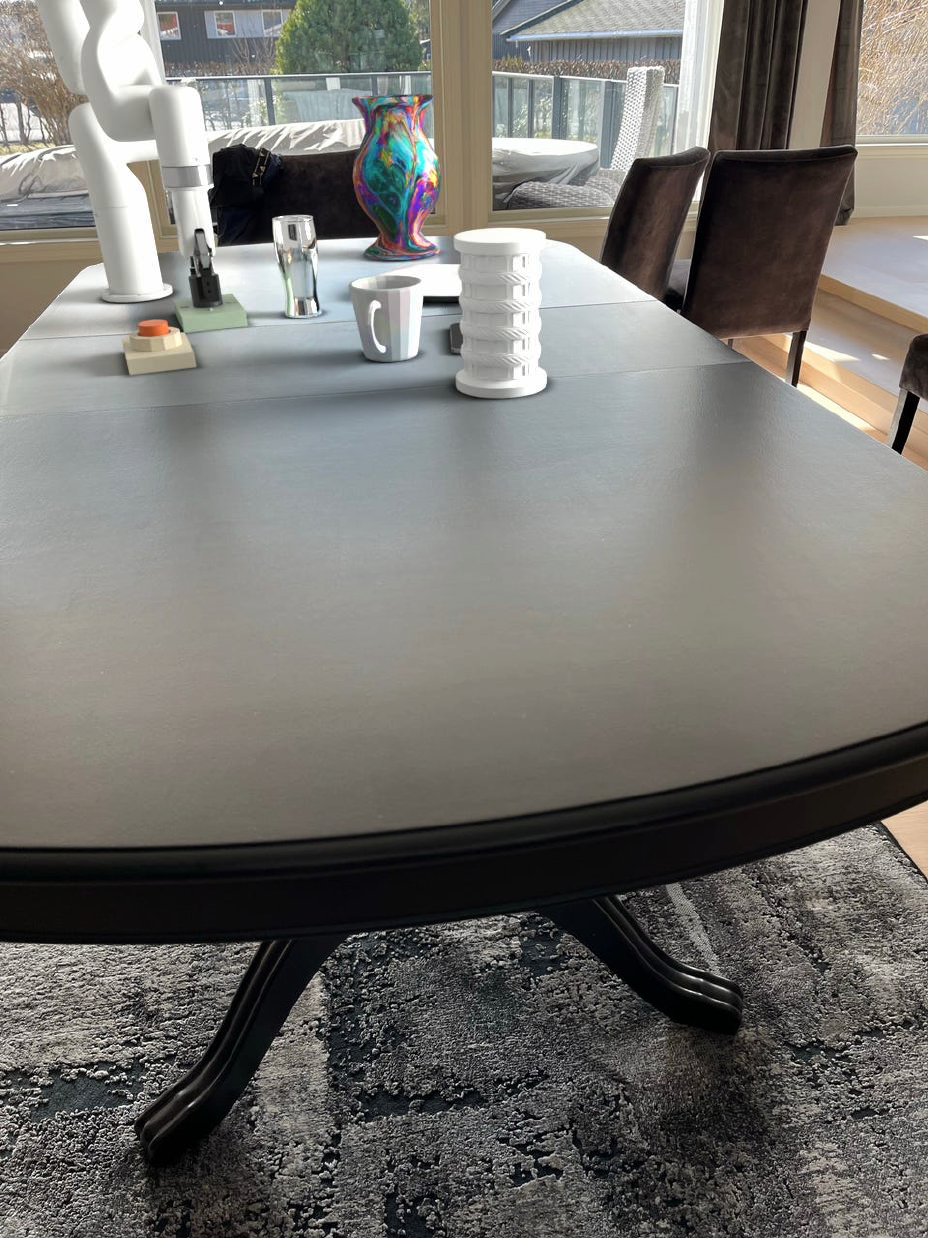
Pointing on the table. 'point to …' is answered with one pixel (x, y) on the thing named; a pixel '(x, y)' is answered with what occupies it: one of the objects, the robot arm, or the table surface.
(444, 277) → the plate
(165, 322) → the button
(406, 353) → the mug
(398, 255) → the vase
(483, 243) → the decorative container
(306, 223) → the beer glass
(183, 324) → the dial panel
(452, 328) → the smartphone
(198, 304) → the dial
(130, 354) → the button block
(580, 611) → the table surface
